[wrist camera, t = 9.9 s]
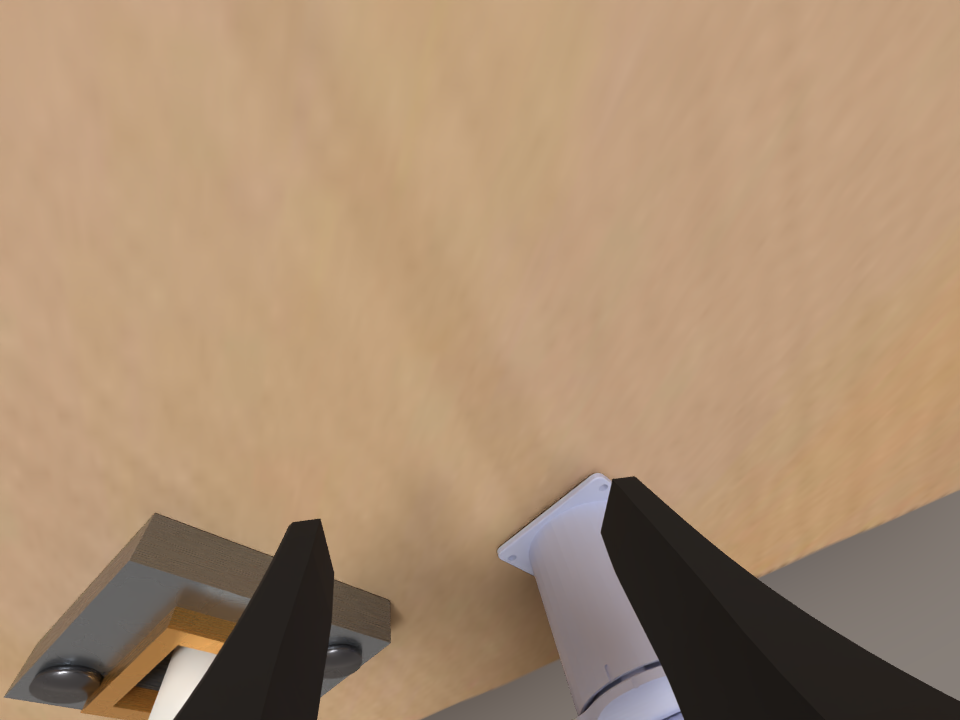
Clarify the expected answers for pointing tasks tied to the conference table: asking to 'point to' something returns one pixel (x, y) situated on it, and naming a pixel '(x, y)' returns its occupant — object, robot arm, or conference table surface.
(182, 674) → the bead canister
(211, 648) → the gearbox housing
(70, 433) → the conference table surface
